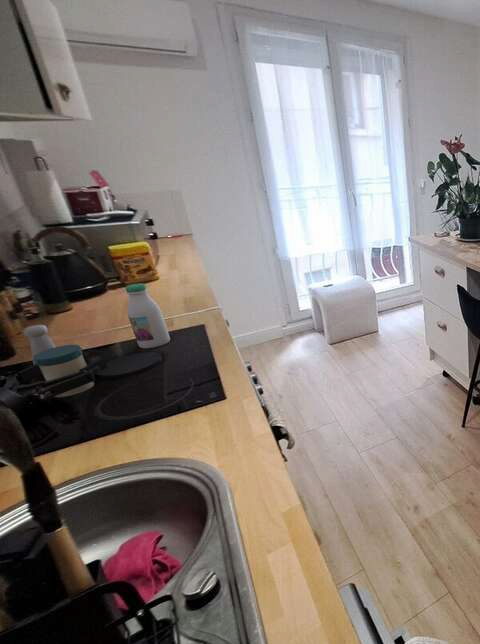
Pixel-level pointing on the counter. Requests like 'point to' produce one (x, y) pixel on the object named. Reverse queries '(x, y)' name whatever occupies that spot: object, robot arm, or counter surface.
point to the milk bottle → (146, 318)
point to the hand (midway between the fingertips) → (75, 363)
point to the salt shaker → (38, 339)
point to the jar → (66, 373)
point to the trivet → (130, 365)
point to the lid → (57, 355)
